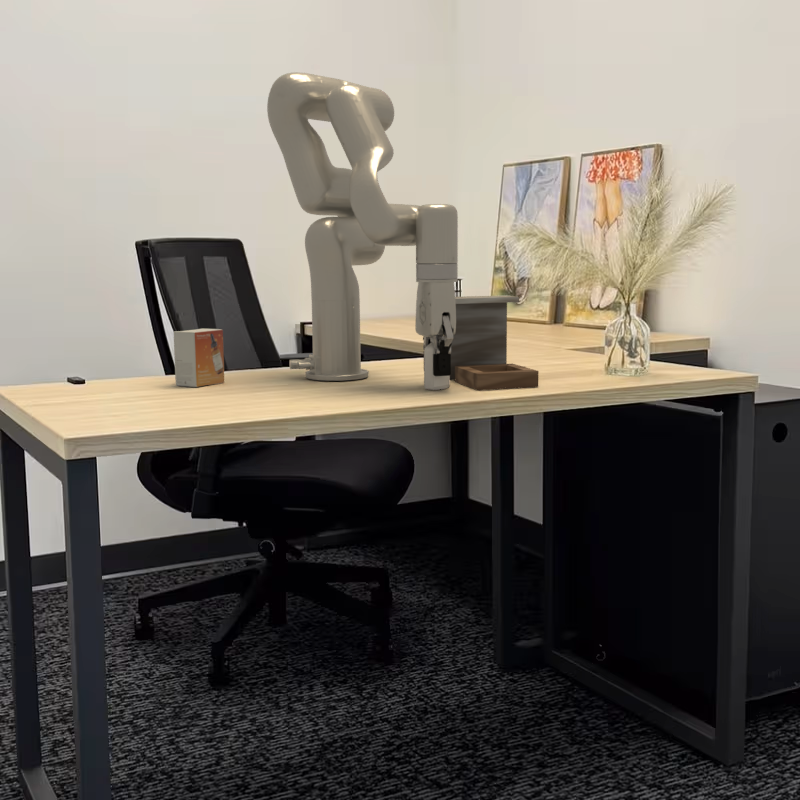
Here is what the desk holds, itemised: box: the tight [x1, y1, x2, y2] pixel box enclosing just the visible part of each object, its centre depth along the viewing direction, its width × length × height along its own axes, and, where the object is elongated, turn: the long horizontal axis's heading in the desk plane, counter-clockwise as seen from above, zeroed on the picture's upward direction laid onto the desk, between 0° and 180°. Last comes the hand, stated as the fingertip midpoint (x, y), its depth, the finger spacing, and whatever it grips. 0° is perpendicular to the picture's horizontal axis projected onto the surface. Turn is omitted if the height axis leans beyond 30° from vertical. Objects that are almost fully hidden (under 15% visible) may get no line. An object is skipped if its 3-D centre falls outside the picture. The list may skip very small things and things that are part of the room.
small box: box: [173, 327, 225, 388], centre depth 186 cm, size 8×6×10 cm
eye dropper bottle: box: [423, 334, 451, 391], centre depth 177 cm, size 4×6×12 cm
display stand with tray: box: [450, 294, 540, 391], centre depth 184 cm, size 18×14×16 cm
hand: (437, 372), depth 178 cm, fingers closed on eye dropper bottle, 4 cm apart
